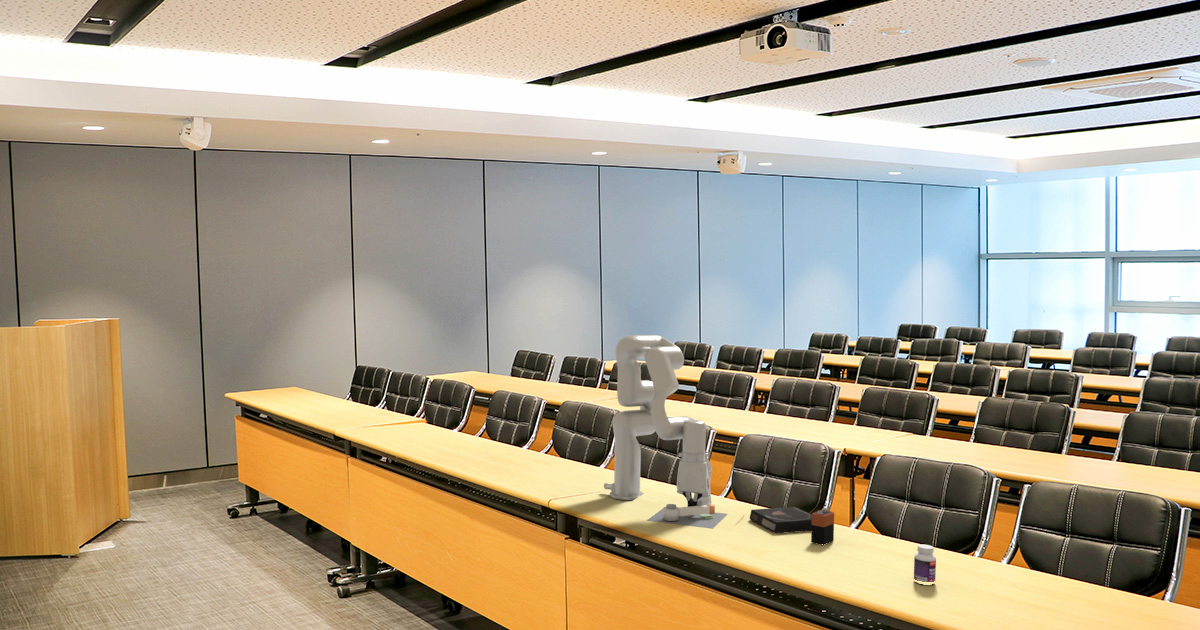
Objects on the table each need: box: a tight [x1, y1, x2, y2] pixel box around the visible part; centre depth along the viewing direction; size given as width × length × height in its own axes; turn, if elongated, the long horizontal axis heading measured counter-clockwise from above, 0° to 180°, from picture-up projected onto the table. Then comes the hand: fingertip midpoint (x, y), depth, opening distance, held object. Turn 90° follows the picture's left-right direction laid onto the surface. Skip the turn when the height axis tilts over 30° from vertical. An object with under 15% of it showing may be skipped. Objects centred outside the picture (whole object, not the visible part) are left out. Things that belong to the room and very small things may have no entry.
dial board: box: [646, 508, 728, 529], centre depth 291 cm, size 22×20×2 cm
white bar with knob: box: [662, 503, 716, 521], centre depth 289 cm, size 5×18×5 cm, turn 110°
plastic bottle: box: [692, 451, 713, 506], centre depth 307 cm, size 6×7×20 cm
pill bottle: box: [913, 543, 937, 582], centre depth 234 cm, size 5×5×10 cm
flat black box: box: [749, 506, 813, 534], centre depth 289 cm, size 16×17×4 cm
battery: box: [810, 507, 835, 546], centre depth 270 cm, size 4×7×10 cm, turn 138°
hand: (692, 512), depth 294 cm, fingers closed
